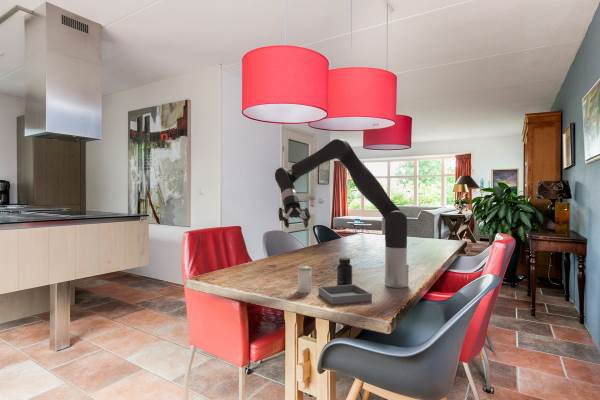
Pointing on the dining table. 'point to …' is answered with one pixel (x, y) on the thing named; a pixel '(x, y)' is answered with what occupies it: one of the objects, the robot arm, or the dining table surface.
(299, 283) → the green capped canister
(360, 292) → the tray
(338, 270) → the supplement bottle
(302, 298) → the dining table surface
